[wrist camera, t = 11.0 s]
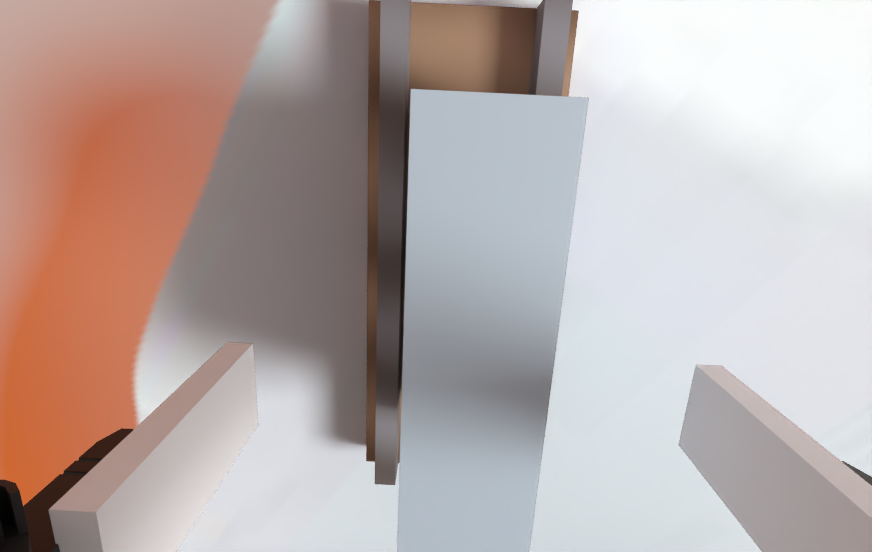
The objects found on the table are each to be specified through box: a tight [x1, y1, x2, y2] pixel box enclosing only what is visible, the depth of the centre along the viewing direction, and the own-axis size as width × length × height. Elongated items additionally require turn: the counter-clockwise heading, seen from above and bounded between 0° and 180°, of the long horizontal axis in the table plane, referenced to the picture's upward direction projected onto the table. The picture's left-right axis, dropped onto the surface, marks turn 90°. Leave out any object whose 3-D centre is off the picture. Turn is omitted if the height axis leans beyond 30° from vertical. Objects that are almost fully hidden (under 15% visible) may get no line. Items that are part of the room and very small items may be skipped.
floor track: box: [366, 0, 579, 485], centre depth 26 cm, size 26×10×4 cm, turn 178°
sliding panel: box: [397, 89, 589, 552], centre depth 20 cm, size 16×4×14 cm, turn 178°
